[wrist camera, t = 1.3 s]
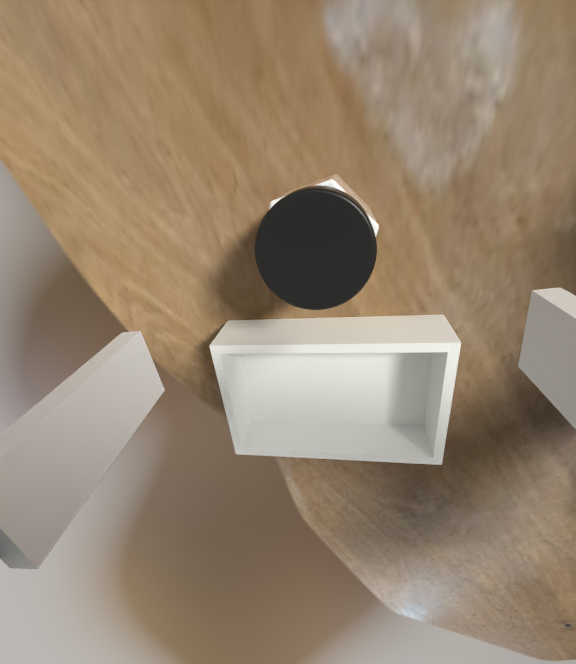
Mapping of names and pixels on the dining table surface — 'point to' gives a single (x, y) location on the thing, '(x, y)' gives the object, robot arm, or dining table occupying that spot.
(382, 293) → the dining table surface
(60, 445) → the robot arm
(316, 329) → the bin
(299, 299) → the jar
